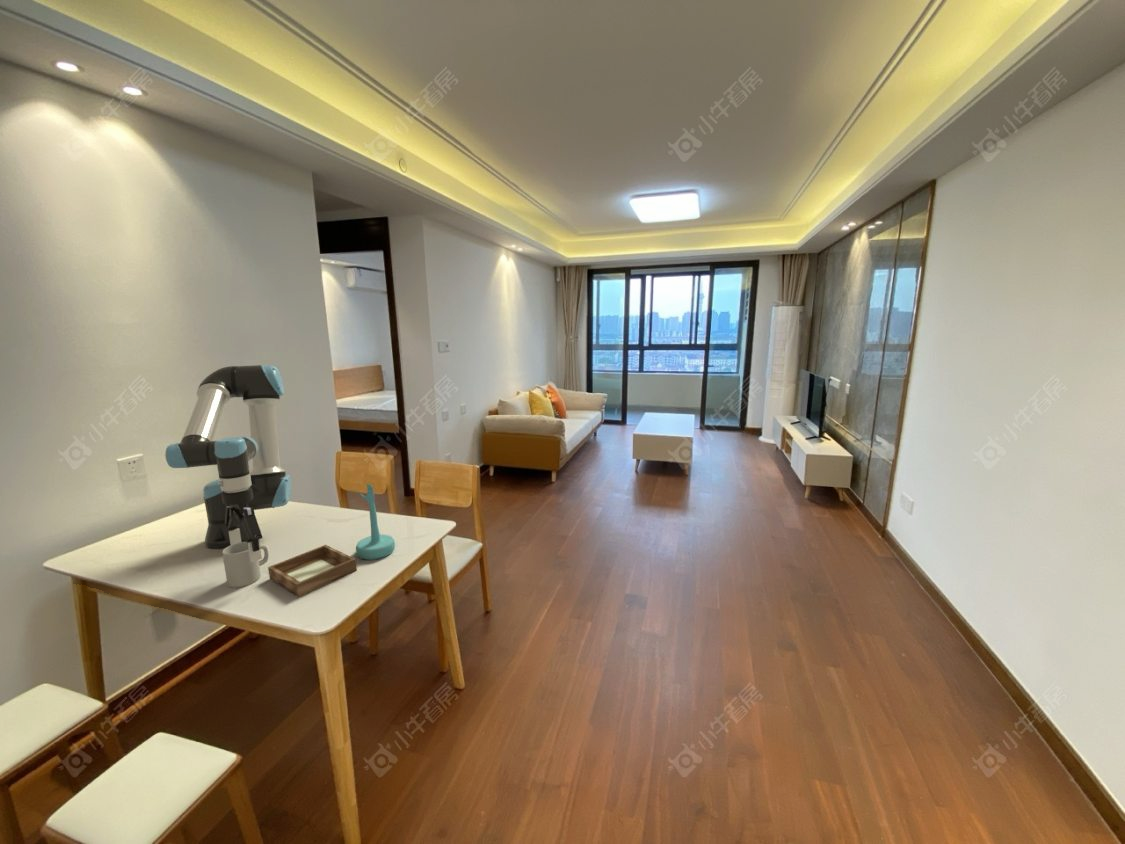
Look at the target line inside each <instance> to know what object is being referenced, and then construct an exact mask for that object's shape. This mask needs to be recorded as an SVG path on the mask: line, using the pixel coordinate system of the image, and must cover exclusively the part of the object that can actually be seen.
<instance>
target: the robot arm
mask: <svg viewBox="0 0 1125 844" xmlns="http://www.w3.org/2000/svg"><path fill="white" fill-rule="evenodd" d="M284 394H285V385H284V382H283V378H282V375H281V373H280V371H279V369H278V367H276V366H275V365H264V364H261V365H260V364H258V365H236V366H235V365H232V366H231V365H230V366H224V367H221V368H218V369H216V370H215V371H213V372H212V373H209V374H208V375H207V376H206V377H205V378H204V379H203V380H202V381H201V382H200V384H199V385H198V387H197V390H196V395H197V400H196V403H195V405H194V408H193V411H192V413H191V416H190V418H189V421H188V423H187V426H186V429H185V431H184V433H183V436H182V438H181V441H180V443H178V442H177V443H172V444H169V445H167V447H166V448H165V449H166V450H165V455H164V456H165V461H166V463H167V466H168V467H170V468H173V469H189V468H196V467H205V466H206V467H207V466H217V473H218V478H217V479H215V480H213V481H210V482H208V483H207V484H206V485H204V487H203V498H202V499H203V500H204V506H205V510H206V517H207V523H208V524H207V529H206V534H205V539H204V543H205V546H206V548H209V549H215V550H216V549H225V548H226V547H228V546H231V545H233V544H236V543H241V542H247V543H248V547H249V554H250V561H251V562H254V561H257V560H258V561H261V560H262V559H263V558H262V549H260V544H261V543H260V540H261V539H264V538H263V535H262V532H261V528H260V526H259V523H258V519H257V517H256V515H255V511H256V510H264V509H265V510H266V509H274V508H275V509H276V508H279V507H284V506H286V505H288V503H289V501H290V498H291V492H292V476H291V475H289V474H286V470H285V469H284V468H283V467H281V459H280V447H279V445H280V444H279V434H278V433H279V432H278V421H277V408H276V405H277V403H279V402H280V400H281V398H280V396H281V397H282V396H283V395H284ZM232 398H242V402H243V403H244V404H246V405H247V407H248V416H249V420H248V421H249V430H250V432H249V433H250V436H240V437H239V436H232V437H226V438H220V439H218V440H217V439H216V440H214V437H215V433H216V432H217V431H216V430H217V428H218V426H219V425H218V424H219V422H220V418H221V416H222V414H223V411H224V407H225V405H226V404H227V403H229V401H230V399H232ZM250 460H252V470H251V471H250V465H249V461H250Z"/></svg>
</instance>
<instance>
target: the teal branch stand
mask: <svg viewBox="0 0 1125 844" xmlns="http://www.w3.org/2000/svg"><path fill="white" fill-rule="evenodd" d="M366 490H367V491H366V495H364V494H362V493H360V494H359V496H361V497H362V498H363V500H365V501H366V502H368V505H369V506H368V507H369V520H370V521H369V523H370V535H369V536H366V537H365V538H362V539H360V540H359V541H357V543H356V546H355V552H356V555H357V557H358V558H360V559H362V560H366V561H371V560H372V561H373V560H379V559H383V558H385V557H387V556H389V555H391V554H392V553H393V552H394V550H395V547H396V546H395V545H396V542H395V539H394V538H393V536H391V535H389V534H384V533H383V534H380V529H379V526H378V518H377V517H378V515H377V510H376V505H375V493H374V487H373V486H372V485H371V484H370V483H366Z"/></svg>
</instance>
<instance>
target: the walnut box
mask: <svg viewBox="0 0 1125 844" xmlns="http://www.w3.org/2000/svg"><path fill="white" fill-rule="evenodd" d="M267 569H268V570H267V571H268V577H269V580H271V581H272V582H273V583H276V584H278V585H279V586H280V587H282V588H283V589H285V590H286V591H288V592H290V593H292V594H293V595H294V596H296V597H297V598H301V597H303V596H304V595H306V594H307V595H308V594H310V593H312V592H314V591H315V590H318V589H320V588H322V587H324V586H326V585H329V584H331V583H333V582H335V581H338V580H339V579H342V578H343V577H346V576H348V575H350V574H352V573H355V572H356V571H357V559H356V558H355V557H352V556H351V555H348V554H346V553H344V552H341V550H340V551H339V550H338V549H335V548H334V547H331V546H330V545H327V544H324V545H321V546H319V547H316V548H314V549H311V550H308V551H306V552H304V553H300V554H298V555H296V556H293V557H290V558H289V559H285V560H283V561H281V562H278V563H275V564H272V565H271V566H268V567H267ZM357 572H358V571H357Z"/></svg>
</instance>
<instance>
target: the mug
mask: <svg viewBox="0 0 1125 844" xmlns="http://www.w3.org/2000/svg"><path fill="white" fill-rule="evenodd" d="M260 550H262V551H263V553H264V555H263V558H262V559H260V560H257V561H254V562H251V561H250V554H249V547H248V543H247V542H241V543H236V544H233V545H231V546H228V547H226V548H223V550H222V554H221V555H222V559H223V565H224V572H225V579H226V585H227V587H229V588H232V589H233V588H234V589H235V588H243V587H247V586H249V585H253V584H254V583H256V582H257V581H258V580H259V579H261V569H260V567H261V566H263V565H265V564H266V563H267V562H268V560H269V556H270V555H269V550H268V547H267V545H265V544H261V543H260Z"/></svg>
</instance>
